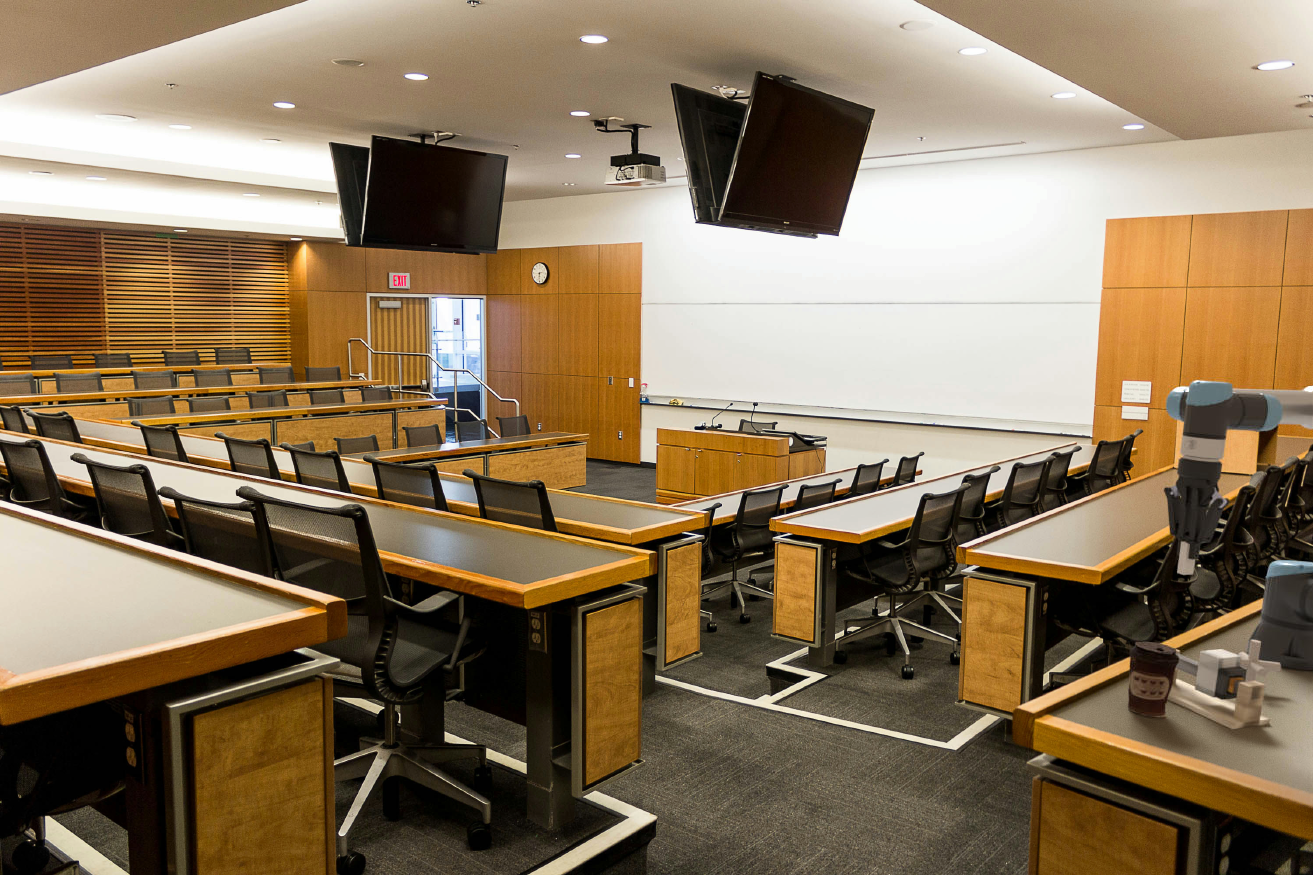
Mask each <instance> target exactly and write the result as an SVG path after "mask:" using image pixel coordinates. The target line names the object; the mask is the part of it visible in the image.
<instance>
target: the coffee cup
mask: <svg viewBox="0 0 1313 875" xmlns="http://www.w3.org/2000/svg"><path fill="white" fill-rule="evenodd" d="M1134 644H1135V645H1134V646H1132V647H1131V648H1130V650H1129V672H1128V675H1129V676H1128V677H1129V679H1128V680H1129V683H1128V688H1127V689H1128V690H1127V692H1128V693H1127V694H1128V695H1127V696H1128V703H1127V708H1128V709H1129V710H1130V711H1132V712H1134V713H1136V714H1139V715H1142V716H1146V717H1151V718H1152V717H1153V718H1164V717H1166V714H1167V713H1166V704H1167V702H1168V695H1169V693H1170V691H1171V688H1172V684H1173V678H1174V673H1175V668H1176V666H1177V664H1178V663H1179V657H1178V655H1176V654H1175V653H1176V651H1177V650H1178V649H1177V648H1175V647H1172V646H1169V645H1167V644H1163V643H1159V642H1154V641H1153V642H1150V641H1136V642H1134ZM1176 649H1177V650H1176Z"/></svg>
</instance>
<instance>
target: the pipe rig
mask: <svg viewBox="0 0 1313 875" xmlns="http://www.w3.org/2000/svg"><path fill="white" fill-rule="evenodd" d="M1175 649H1176V650H1177V651H1176V653H1175V654H1176V655H1178V657H1179V663H1178V664H1177V666H1176V668H1175V673H1174V678H1173V684H1172V688H1171V691H1170V693H1169V695H1168V699H1167V701H1170V702H1172V703H1174V704H1177V705H1179V706H1180V707H1183V708H1185V709H1188V710H1189V711H1192V712H1194V713H1197V714H1198V715H1200V716H1203V717H1205V718H1207V719H1209V720H1211V721H1214V722H1216V723H1218V724H1220V725H1222V726H1224V727H1227V728H1229V729H1231V730H1234V729H1235V730H1236V729H1237V730H1238V729H1242V728H1243V729H1244V728H1251V727H1258V726H1266V725H1269V724H1270V720H1271V719H1270V718H1269V717H1267V716H1264V715H1262V710H1263V708H1262V707H1263V703H1264V696H1265V689H1266V684H1264V683H1262V682H1259V681H1257V680H1255V681H1248V682H1247V681H1244V679H1243V678H1240V677H1234V676H1229V682H1228V688H1227V690H1228V692H1231V693H1237V698H1235V699H1236V700H1235V702H1232V701H1229V700H1228V699H1225V700H1221V699H1219V698H1217V697H1215V698H1213V697H1211V696H1209V695H1206V694H1204V693H1202V692H1199V691H1197V690H1195V686H1194V685H1192V684H1190V683H1187V682H1185V681H1183V680H1181V679H1179V678H1177V676H1178V670H1180V671H1183V673H1184V672H1185V673H1187V674H1189V675H1192V676H1194V677H1196V678H1197V671H1198V664H1199V661H1197V660H1195V659H1192V658H1189V657H1187V656H1184V655H1183V654H1181V650H1179V649H1177V648H1175Z"/></svg>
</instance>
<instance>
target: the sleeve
mask: <svg viewBox="0 0 1313 875" xmlns="http://www.w3.org/2000/svg"><path fill="white" fill-rule="evenodd" d="M1198 662H1199V664H1198V671H1197V677H1196V678H1195V679H1196V680H1195V690H1197V691H1199V692H1202V693H1204V694H1206V695H1209V696H1211V697H1213V698H1215V697H1214V696H1215V689H1216V683H1217V676H1218V669H1219V668H1228V667H1238V666H1239V667H1240V662H1241V656H1239V655H1238V654H1236V653H1234V652H1231V651H1228V650H1226V649H1223V648H1220V649H1208V650H1200V652H1199V658H1198Z"/></svg>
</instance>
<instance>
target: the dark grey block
mask: <svg viewBox="0 0 1313 875" xmlns="http://www.w3.org/2000/svg"><path fill="white" fill-rule="evenodd" d="M1246 673H1247V669H1246V667H1239V666H1238V667H1228V668H1219V669H1218V676H1217V683H1216V689H1215V696H1214V697H1217V698H1219V699H1221V700H1230V699H1231V700H1232V699H1236V698H1237V693H1231V692H1228V690H1227V688H1228V682H1229V676H1234V677H1240V678H1243V679H1244V681H1245V679H1246Z"/></svg>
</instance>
